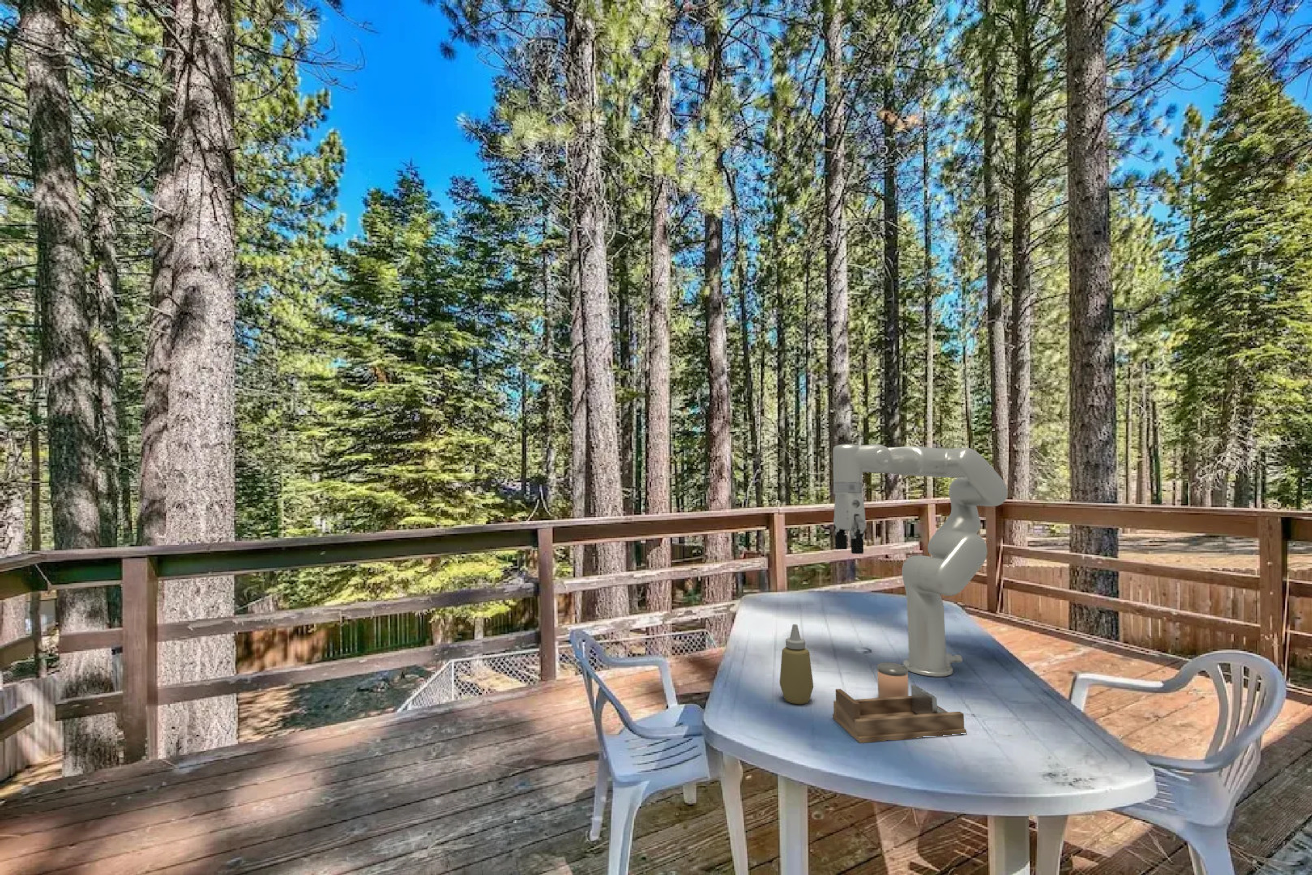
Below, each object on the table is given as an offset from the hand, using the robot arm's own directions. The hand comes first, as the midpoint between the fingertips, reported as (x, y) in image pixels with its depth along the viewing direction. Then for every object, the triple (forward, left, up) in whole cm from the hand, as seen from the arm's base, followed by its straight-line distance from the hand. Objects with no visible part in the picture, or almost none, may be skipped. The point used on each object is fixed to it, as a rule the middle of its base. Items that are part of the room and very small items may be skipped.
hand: (849, 551), depth 153 cm
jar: (-2, +16, -34) cm, 38 cm away
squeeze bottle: (+21, +12, -34) cm, 42 cm away
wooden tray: (+4, +29, -34) cm, 45 cm away
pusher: (-3, +29, -33) cm, 44 cm away
